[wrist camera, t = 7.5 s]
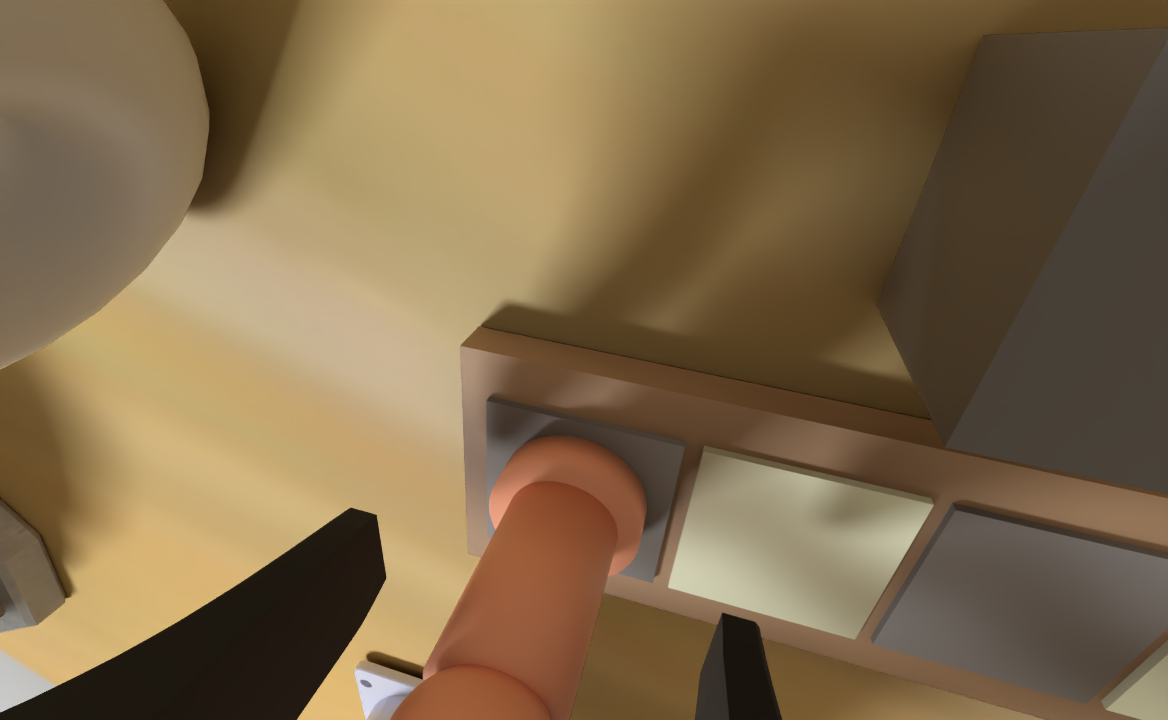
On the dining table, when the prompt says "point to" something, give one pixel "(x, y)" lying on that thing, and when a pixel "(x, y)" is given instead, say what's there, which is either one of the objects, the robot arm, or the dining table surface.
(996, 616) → the track board
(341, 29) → the dining table surface
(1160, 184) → the die
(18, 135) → the donut
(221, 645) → the robot arm
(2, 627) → the tankard
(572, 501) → the pawn
